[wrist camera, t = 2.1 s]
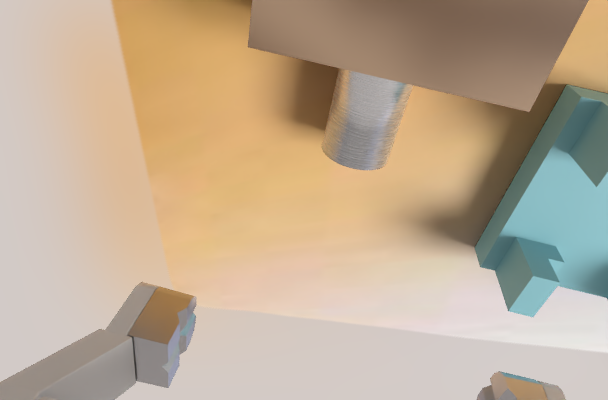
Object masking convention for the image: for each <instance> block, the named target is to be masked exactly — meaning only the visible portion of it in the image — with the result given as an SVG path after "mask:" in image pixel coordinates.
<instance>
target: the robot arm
mask: <svg viewBox="0 0 608 400" xmlns="http://www.w3.org/2000/svg"><path fill="white" fill-rule="evenodd" d="M195 307H196V297H195V296H192V295H188V294H184V293H181V292H177V291H174V290H170V289H166V288H163V287H159V286H155V285H151V284H147V283H143V282H141V283H140V284H138V285H137V286H136V287H135V288H134V290H133V291H132V293H131V294H130V296H129V297H128V298H127V300H126V302H125V303H124V304H123V306H122V307H121V309H120V310H119V311H118V313H117V314H116V316H115V317H114V319H113V320H112V321H111V323H110V324H109V326H108V327H107V329H106V330H102V329H99V330H97V331H95V332H93V333H91V334H89V335H88V336H86V337H84V338H82V339H80V340H78V341H77V342H74V343H73V344H71V345H69V346H67V347H65V348H63V349H61V350H60V351H58V352H56V353H54V354H52V355H50V356H48V357H47V358H45V359H43V360H41V361H39V362H37V363H35V364H33V365H31V366H30V367H28V368H26V369H24V370H22V371H20V372H18V373H16V374H15V375H13V376H11V377H9V378H7V379H5V380H3V381H2V382H0V400H115V399H116V398H117V397H118V396H120V395H121V394H123V393H124V392H125V391H126V390H128V389H129V388H130V387H132V386H133V385H134V384H135V383H136V381H139V382H144V383H148V384H153V385H157V386H162V387H166V388H168V387H169V386H170V383H171V381H172V379H173V377H174V375H175V373H176V371H177V369H178V367H179V355H180V354H181V353H183V352H184V351H186V349H187V347H188V345H189V343H190V340H191V337H192V334H193V331H194V327H195V319H196V316H195V315H194V313H193V311H194V309H195ZM490 380H491V384H492V385H490V386H487V387H485V388H483V389H482V390H481V391H480V393H479V394H478V397H477V400H566V399H565V396H564V394H563V392H562V390H561V389H560V388H559V387H558V386H556V385H552V384H548V383H544V382H540V381H536V380H534V379H529V378H525V377H521V376H516V375H512V374H508V373H504V372H497V373H494V375H493V376H492V377H491V378H490Z"/></svg>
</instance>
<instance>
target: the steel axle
mask: <svg viewBox="0 0 608 400" xmlns="http://www.w3.org/2000/svg"><path fill="white" fill-rule="evenodd" d="M412 87H413V85H410V84H406V83H401V82H397V81H393V80H388V79H384V78H380V77H375V76H371V75H367V74H362V73H358V72H354V71H349V70H345V69H341V68H339V72H338V77H337V81H336V85H335V90H334V94H333V99H332V103H331V107H330V112H329V116H328V120H327V125H326V129H325V134H324V138H323V142H322V150H323V152H324V153H325V154H326V155H327V156H328V157H329V158H330V159H332V160H333V161H335V162H337V163H339V164H341V165H343V166H346V167H349V168H353V169H359V170H376V169H379V168H382V167H384V166H385V165H386V163H387V161H388V158H389V155H390V152H391V149H392V146H393V143H394V140H395V137H396V134H397V131H398V128H399V125H400V123H401V120H402V117H403V114H404V111H405V108H406V105H407V102H408V99H409V96H410V93H411V90H412Z"/></svg>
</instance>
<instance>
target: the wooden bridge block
mask: <svg viewBox="0 0 608 400" xmlns="http://www.w3.org/2000/svg"><path fill="white" fill-rule="evenodd" d="M588 1H589V0H252V9H251V19H250V30H249V40H248V47H250V48H254V49H258V50H263V51H267V52H271V53H276V54H280V55H284V56H289V57H293V58H297V59H302V60H306V61H310V62H315V63H319V64H323V65H328V66H332V67H336V68H341V69H345V70H349V71H354V72H358V73H362V74H367V75H371V76H375V77H380V78H384V79H388V80H393V81H397V82H401V83H406V84H410V85H414V86H419V87H423V88H427V89H432V90H436V91H440V92H445V93H449V94H453V95H458V96H462V97H466V98H471V99H475V100H479V101H484V102H488V103H492V104H497V105H501V106H505V107H510V108H514V109H518V110H523V111H527V112H530V110H531V108H532V106H533V104H534V102H535V100H536V98H537V97H538V95H539V93H540V91H541V89H542V87H543V85H544V83H545V81H546V80H547V78H548V76H549V74H550V72H551V70H552V68H553V66H554V65H555V63H556V61H557V59H558V57H559V55H560V53H561V51H562V49H563V48H564V46H565V44H566V42H567V40H568V38H569V36H570V34H571V33H572V31H573V29H574V27H575V25H576V23H577V21H578V19H579V17H580V16H581V14H582V12H583V10H584V8H585V6H586V4H587V2H588Z"/></svg>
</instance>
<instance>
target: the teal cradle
mask: <svg viewBox="0 0 608 400" xmlns="http://www.w3.org/2000/svg"><path fill="white" fill-rule="evenodd" d="M475 250H476V254H477V257H478V261H479V264H480V267H482V268H487V269H491V270H495V272H496V275H497V278H498V281H499V284H500V287H501V290H502V293H503V296H504V299H505V303H506V306H507V309H508V311H510V312H514V313H518V314H522V315H526V316H530V317H534V315H535V314H536V313H537V312H538V310H539V309H540V308H541V306H542V305H543V304H544V303H545V301H546V300H547V299H548V297H549V296H550V295H551V294H552V292H553V291H554V290H555V289H556V287H557V286H560V287H565V288H569V289H573V290H577V291H581V292H585V293H589V294H593V295H597V296H601V297H606V298H607V299H608V94H607V93H603V92H598V91H594V90H589V89H585V88H581V87H576V86H572V85H566V87H565V89H564V90H563V92H562V94H561V96H560V97H559V99H558V101H557V103H556V104H555V106H554V108H553V110H552V112H551V113H550V115H549V117H548V119H547V120H546V122H545V124H544V126H543V128H542V129H541V131H540V133H539V135H538V136H537V138H536V140H535V142H534V143H533V145H532V147H531V149H530V151H529V152H528V154H527V156H526V158H525V159H524V161H523V163H522V165H521V167H520V168H519V170H518V172H517V174H516V175H515V177H514V179H513V181H512V182H511V184H510V186H509V188H508V190H507V191H506V193H505V195H504V197H503V198H502V200H501V202H500V204H499V206H498V207H497V209H496V211H495V213H494V214H493V216H492V218H491V220H490V221H489V223H488V225H487V227H486V229H485V230H484V232H483V234H482V236H481V237H480V239H479V241H478V243H477V244H476V246H475Z"/></svg>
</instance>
